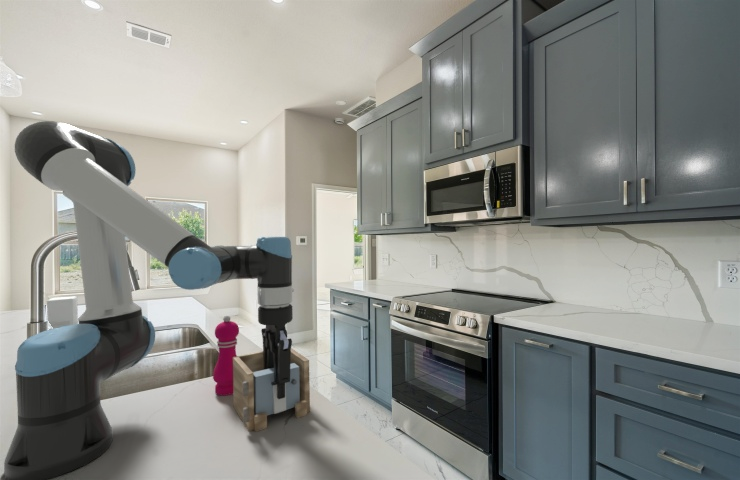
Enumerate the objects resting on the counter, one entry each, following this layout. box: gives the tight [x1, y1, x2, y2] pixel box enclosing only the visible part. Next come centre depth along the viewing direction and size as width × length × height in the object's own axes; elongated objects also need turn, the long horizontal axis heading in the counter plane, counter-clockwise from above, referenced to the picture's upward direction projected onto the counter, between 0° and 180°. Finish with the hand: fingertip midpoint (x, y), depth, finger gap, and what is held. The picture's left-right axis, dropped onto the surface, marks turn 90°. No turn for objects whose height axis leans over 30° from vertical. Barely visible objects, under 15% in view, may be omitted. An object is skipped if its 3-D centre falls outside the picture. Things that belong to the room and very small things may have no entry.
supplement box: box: [46, 295, 79, 328], centre depth 157 cm, size 9×9×15 cm
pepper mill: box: [212, 315, 240, 396], centre depth 92 cm, size 7×7×20 cm
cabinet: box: [232, 347, 311, 432], centre depth 81 cm, size 15×14×12 cm
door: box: [253, 363, 300, 416], centre depth 78 cm, size 10×4×9 cm, turn 124°
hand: (276, 407), depth 78 cm, fingers closed on door, 3 cm apart
